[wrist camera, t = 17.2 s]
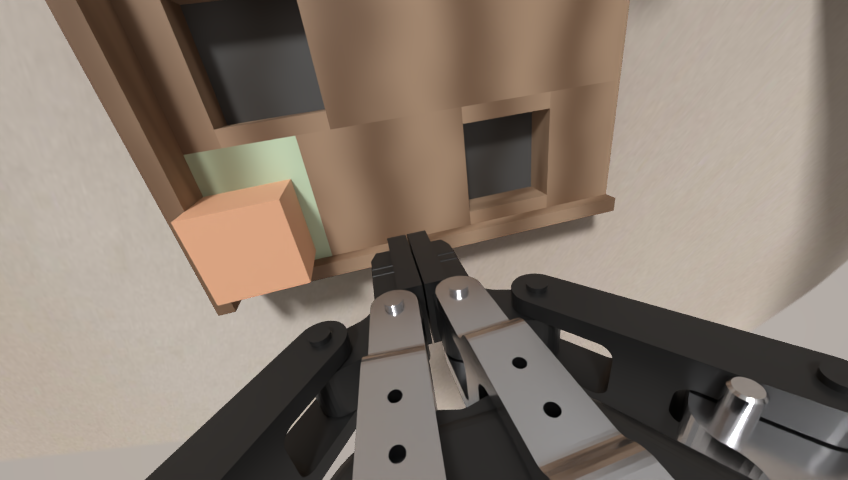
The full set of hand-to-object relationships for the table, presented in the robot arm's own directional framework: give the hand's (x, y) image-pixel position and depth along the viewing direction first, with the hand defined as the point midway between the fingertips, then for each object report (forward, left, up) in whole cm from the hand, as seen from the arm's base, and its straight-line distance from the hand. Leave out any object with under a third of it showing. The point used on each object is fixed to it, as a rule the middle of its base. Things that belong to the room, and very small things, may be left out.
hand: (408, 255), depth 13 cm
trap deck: (-3, -4, -12) cm, 13 cm away
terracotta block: (+8, +1, -9) cm, 12 cm away
